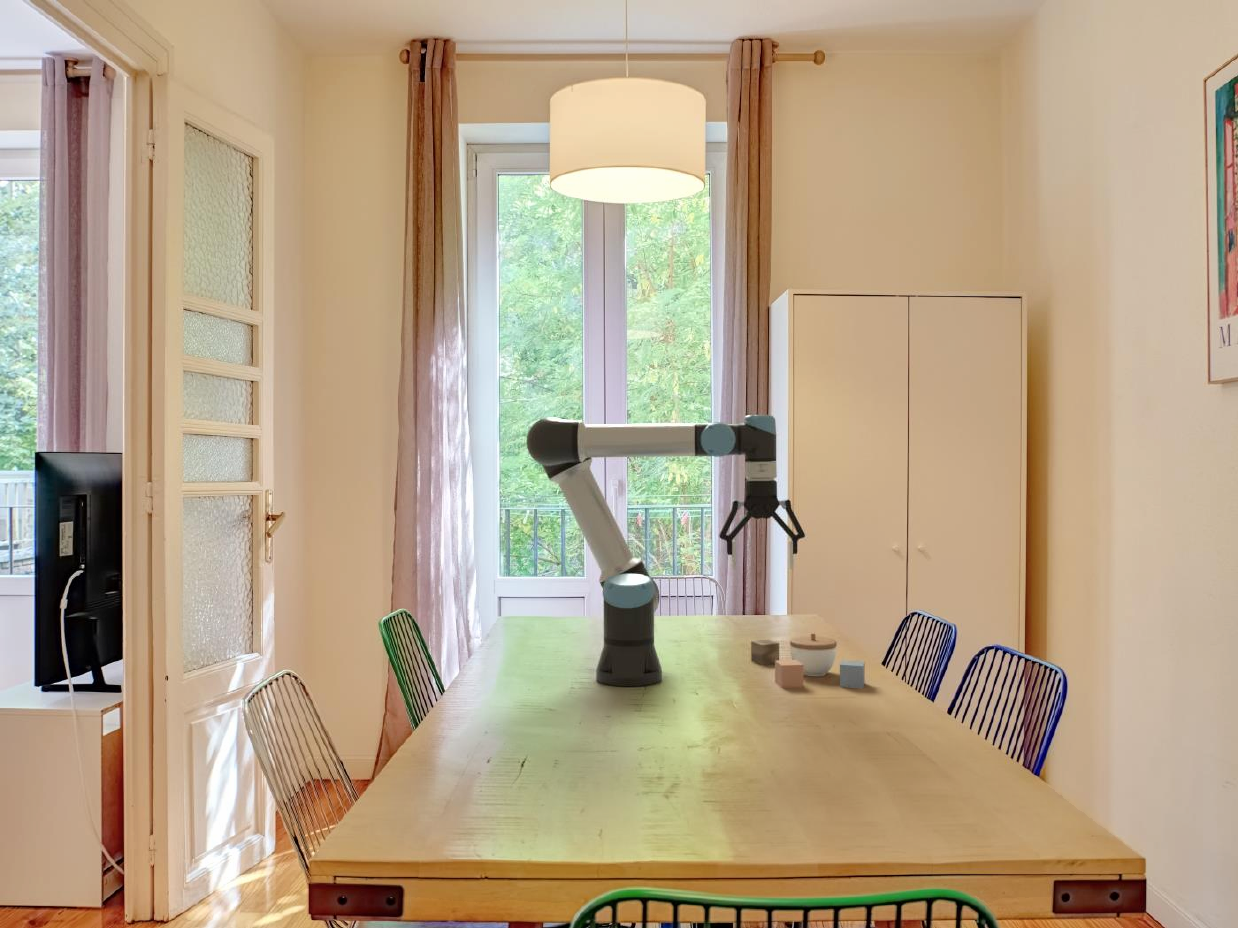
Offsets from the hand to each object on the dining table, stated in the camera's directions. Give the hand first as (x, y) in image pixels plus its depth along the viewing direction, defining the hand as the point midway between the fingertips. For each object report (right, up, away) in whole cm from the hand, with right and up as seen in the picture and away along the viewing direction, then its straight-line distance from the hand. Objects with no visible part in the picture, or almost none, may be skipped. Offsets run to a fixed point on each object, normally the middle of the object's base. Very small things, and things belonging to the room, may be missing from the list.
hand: (762, 568), depth 236 cm
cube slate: (+18, -24, -16) cm, 34 cm away
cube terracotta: (+4, -25, -15) cm, 29 cm away
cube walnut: (+2, -24, +8) cm, 25 cm away
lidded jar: (+11, -24, -5) cm, 27 cm away
